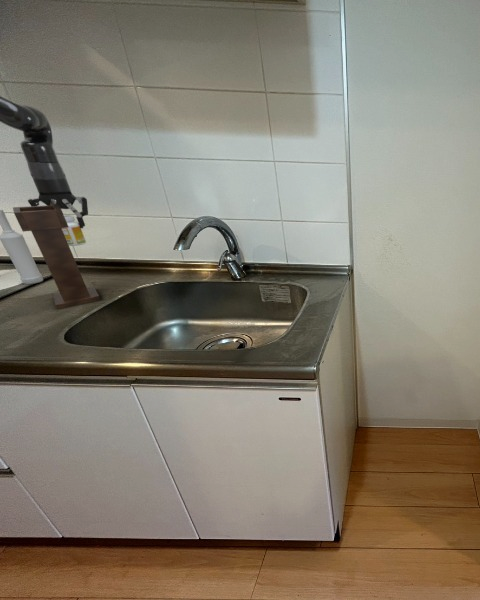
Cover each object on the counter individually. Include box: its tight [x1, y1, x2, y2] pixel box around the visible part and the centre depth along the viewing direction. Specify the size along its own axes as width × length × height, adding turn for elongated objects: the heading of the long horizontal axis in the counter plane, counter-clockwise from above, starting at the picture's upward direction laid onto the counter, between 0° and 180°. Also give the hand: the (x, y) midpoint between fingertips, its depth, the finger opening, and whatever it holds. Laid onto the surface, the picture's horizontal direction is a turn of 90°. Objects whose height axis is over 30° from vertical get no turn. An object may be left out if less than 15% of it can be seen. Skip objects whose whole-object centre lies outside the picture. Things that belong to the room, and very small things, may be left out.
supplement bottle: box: [62, 215, 87, 247], centre depth 107 cm, size 5×5×10 cm
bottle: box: [0, 209, 44, 285], centre depth 104 cm, size 5×5×25 cm
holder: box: [12, 205, 101, 310], centre depth 94 cm, size 10×10×29 cm
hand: (69, 228), depth 107 cm, fingers closed on supplement bottle, 5 cm apart
